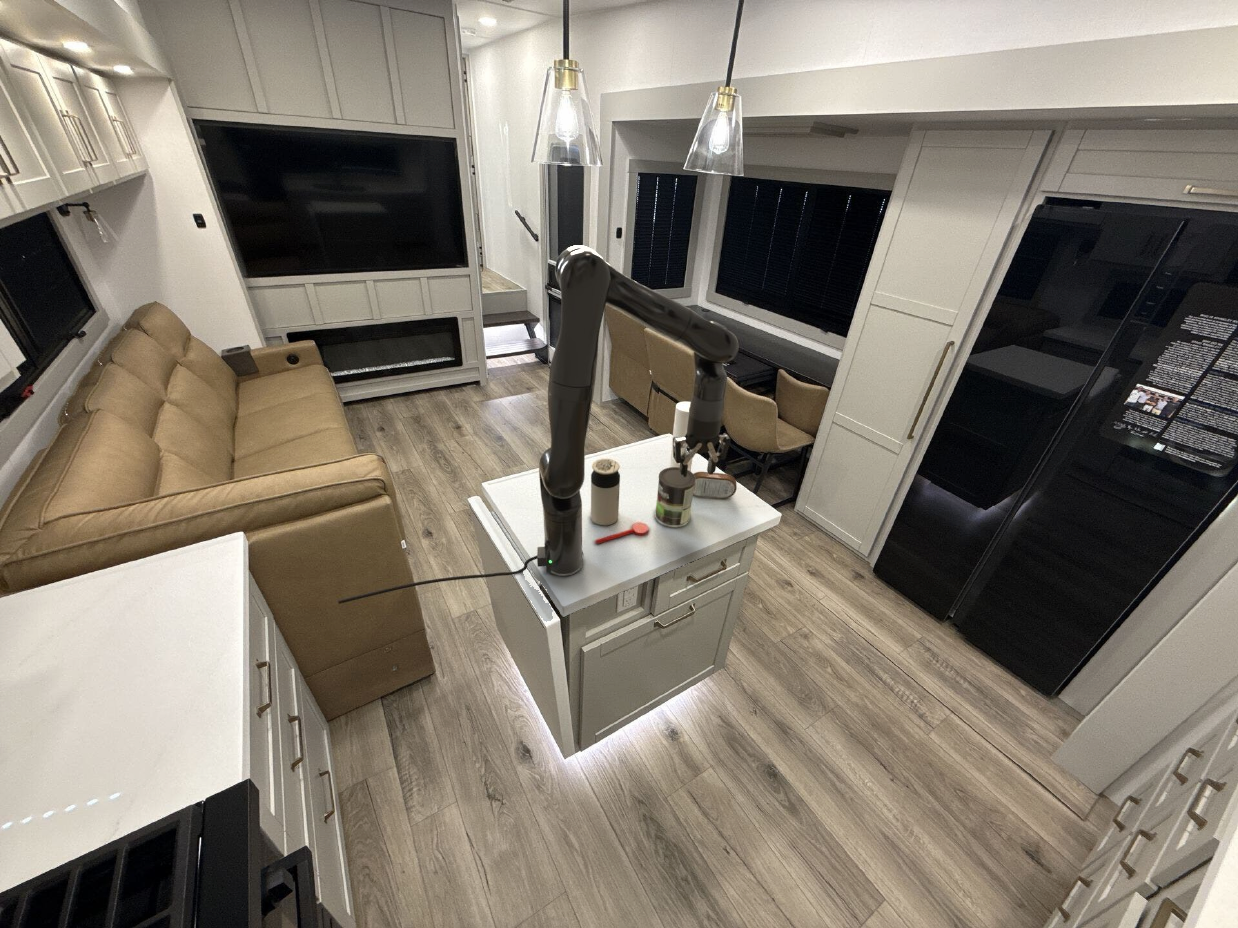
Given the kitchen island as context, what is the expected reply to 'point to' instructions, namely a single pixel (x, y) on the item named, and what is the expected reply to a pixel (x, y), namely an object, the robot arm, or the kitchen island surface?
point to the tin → (714, 485)
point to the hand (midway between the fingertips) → (696, 474)
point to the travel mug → (605, 491)
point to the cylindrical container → (680, 430)
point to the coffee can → (674, 497)
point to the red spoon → (627, 532)
